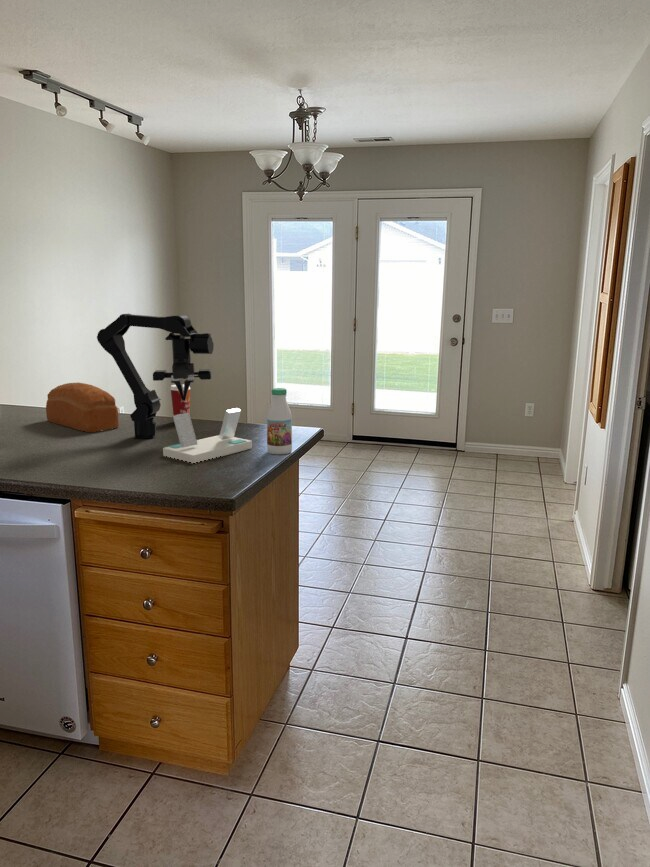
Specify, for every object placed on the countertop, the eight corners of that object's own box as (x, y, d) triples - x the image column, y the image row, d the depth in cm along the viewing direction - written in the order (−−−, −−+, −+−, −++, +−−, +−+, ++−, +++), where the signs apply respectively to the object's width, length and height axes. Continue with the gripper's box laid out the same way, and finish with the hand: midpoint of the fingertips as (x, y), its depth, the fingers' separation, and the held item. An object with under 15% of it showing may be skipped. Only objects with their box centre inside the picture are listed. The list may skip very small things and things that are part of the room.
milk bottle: (267, 449, 208) (266, 387, 203) (291, 448, 208) (291, 386, 204) (267, 455, 200) (266, 390, 196) (292, 455, 201) (292, 390, 196)
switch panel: (163, 455, 199) (162, 446, 198) (222, 441, 217) (221, 433, 217) (193, 463, 190) (193, 454, 190) (252, 448, 209) (251, 439, 208)
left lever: (181, 448, 196) (172, 416, 196) (194, 445, 200) (185, 413, 200) (184, 447, 195) (175, 414, 195) (197, 444, 199) (189, 412, 199)
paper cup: (187, 424, 244) (185, 387, 240) (168, 423, 245) (166, 386, 242) (195, 420, 251) (194, 384, 248) (176, 419, 252) (175, 383, 249)
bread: (87, 434, 227) (84, 390, 224) (43, 421, 249) (40, 380, 245) (123, 428, 238) (120, 385, 234) (77, 416, 259) (74, 377, 255)
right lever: (218, 437, 207) (226, 410, 203) (230, 434, 211) (237, 408, 207) (222, 440, 207) (229, 412, 202) (233, 437, 210) (241, 410, 206)
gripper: (149, 356, 206) (152, 405, 210) (208, 355, 208) (211, 404, 212) (153, 353, 217) (156, 399, 220) (210, 352, 219) (212, 398, 223)
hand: (184, 400), depth 218 cm, fingers closed
